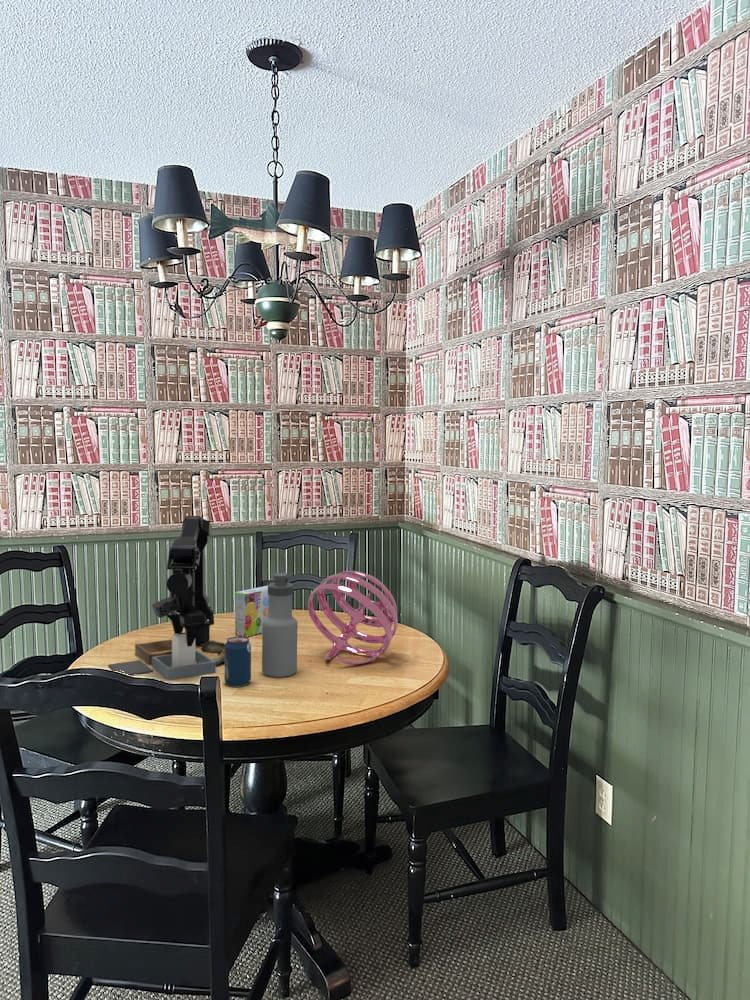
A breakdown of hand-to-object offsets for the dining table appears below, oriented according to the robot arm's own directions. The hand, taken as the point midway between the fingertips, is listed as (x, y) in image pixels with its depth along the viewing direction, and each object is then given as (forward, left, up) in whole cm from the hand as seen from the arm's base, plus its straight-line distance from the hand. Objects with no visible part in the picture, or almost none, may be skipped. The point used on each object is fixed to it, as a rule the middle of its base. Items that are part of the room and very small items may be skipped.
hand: (183, 642), depth 206 cm
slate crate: (0, 0, -8) cm, 8 cm away
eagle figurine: (-11, -2, -8) cm, 14 cm away
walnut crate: (0, -16, -8) cm, 18 cm away
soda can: (-8, +19, -8) cm, 22 cm away
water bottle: (-22, +16, -8) cm, 28 cm away
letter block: (0, 0, -8) cm, 8 cm away
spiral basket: (-48, +15, -8) cm, 51 cm away
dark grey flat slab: (+13, -8, -8) cm, 17 cm away
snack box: (-39, -30, -8) cm, 50 cm away
